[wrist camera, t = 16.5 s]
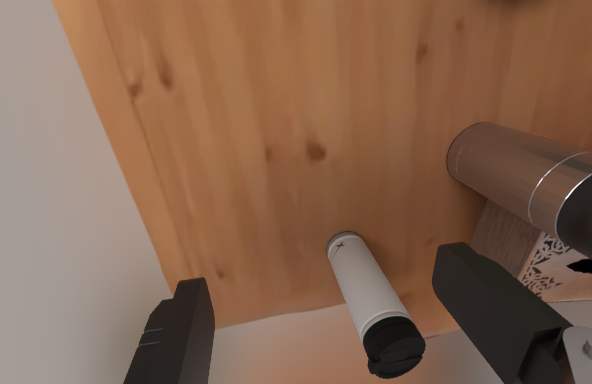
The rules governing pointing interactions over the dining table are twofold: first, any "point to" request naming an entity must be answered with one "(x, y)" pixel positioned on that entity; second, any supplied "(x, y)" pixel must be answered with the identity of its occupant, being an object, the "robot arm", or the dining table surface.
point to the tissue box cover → (533, 256)
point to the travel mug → (375, 308)
